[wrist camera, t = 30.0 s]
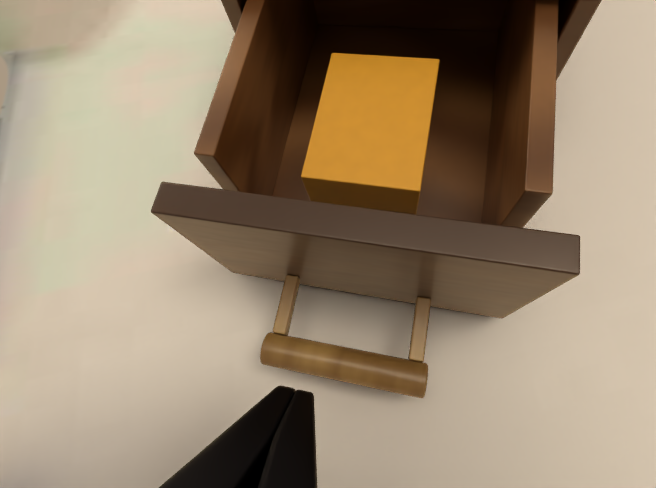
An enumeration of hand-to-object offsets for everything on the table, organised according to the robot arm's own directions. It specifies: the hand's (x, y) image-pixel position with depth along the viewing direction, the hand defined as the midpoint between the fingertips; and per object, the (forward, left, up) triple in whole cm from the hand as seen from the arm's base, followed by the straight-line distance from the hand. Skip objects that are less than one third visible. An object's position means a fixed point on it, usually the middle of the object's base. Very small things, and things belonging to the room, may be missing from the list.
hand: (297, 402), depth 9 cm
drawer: (+8, +8, -10) cm, 14 cm away
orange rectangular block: (+7, +8, -9) cm, 14 cm away
